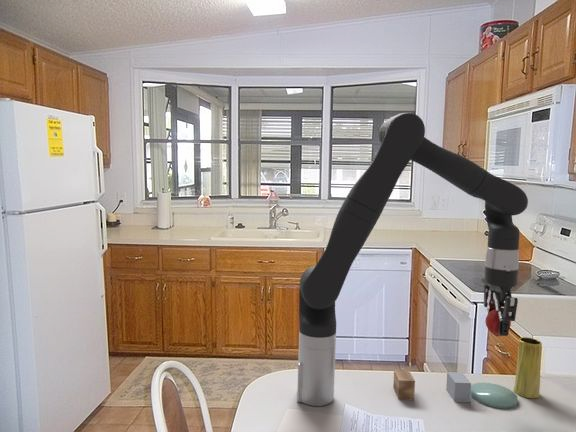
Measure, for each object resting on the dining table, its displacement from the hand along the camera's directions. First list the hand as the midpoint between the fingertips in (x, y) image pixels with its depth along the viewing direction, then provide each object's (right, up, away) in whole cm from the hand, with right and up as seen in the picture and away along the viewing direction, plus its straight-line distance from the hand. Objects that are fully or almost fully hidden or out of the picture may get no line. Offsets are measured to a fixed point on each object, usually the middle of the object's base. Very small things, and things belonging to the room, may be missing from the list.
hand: (497, 330), depth 111 cm
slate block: (-9, -18, +2) cm, 20 cm away
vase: (+10, -18, +4) cm, 21 cm away
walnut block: (-23, -17, +2) cm, 29 cm away
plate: (0, -18, +2) cm, 18 cm away
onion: (0, -2, 0) cm, 2 cm away
